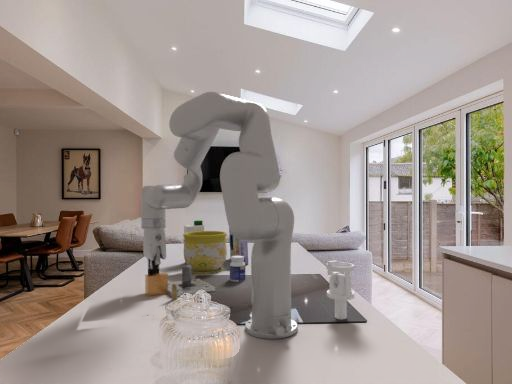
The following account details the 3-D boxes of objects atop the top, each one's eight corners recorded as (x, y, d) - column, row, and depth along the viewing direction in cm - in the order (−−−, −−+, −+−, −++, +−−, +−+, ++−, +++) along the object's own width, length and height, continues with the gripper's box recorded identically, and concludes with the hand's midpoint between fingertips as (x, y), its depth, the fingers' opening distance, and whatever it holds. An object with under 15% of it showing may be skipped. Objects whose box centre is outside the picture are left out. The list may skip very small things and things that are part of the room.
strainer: (321, 314, 96) (321, 258, 96) (344, 311, 99) (343, 257, 99) (336, 323, 90) (336, 263, 90) (360, 319, 92) (359, 261, 92)
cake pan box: (228, 258, 182) (228, 223, 182) (238, 257, 184) (238, 223, 184) (238, 265, 164) (237, 226, 164) (248, 264, 165) (248, 226, 165)
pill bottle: (243, 286, 127) (243, 258, 127) (227, 285, 128) (227, 257, 128) (247, 282, 133) (246, 255, 133) (232, 281, 134) (231, 254, 134)
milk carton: (206, 264, 167) (205, 221, 168) (187, 266, 164) (186, 222, 164) (200, 261, 175) (200, 220, 175) (182, 262, 172) (182, 220, 172)
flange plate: (198, 281, 128) (198, 264, 128) (215, 290, 116) (214, 272, 116) (141, 289, 117) (141, 271, 117) (152, 300, 105) (152, 280, 105)
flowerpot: (232, 274, 145) (232, 234, 145) (188, 279, 138) (187, 236, 138) (220, 266, 162) (220, 230, 162) (180, 270, 155) (179, 232, 155)
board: (234, 300, 110) (234, 271, 110) (145, 309, 102) (145, 278, 102) (218, 281, 134) (217, 257, 134) (145, 287, 127) (145, 261, 127)
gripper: (172, 225, 112) (172, 283, 112) (157, 221, 124) (157, 274, 125) (148, 226, 108) (148, 287, 108) (135, 222, 120) (135, 277, 120)
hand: (153, 280), depth 116 cm, fingers closed
